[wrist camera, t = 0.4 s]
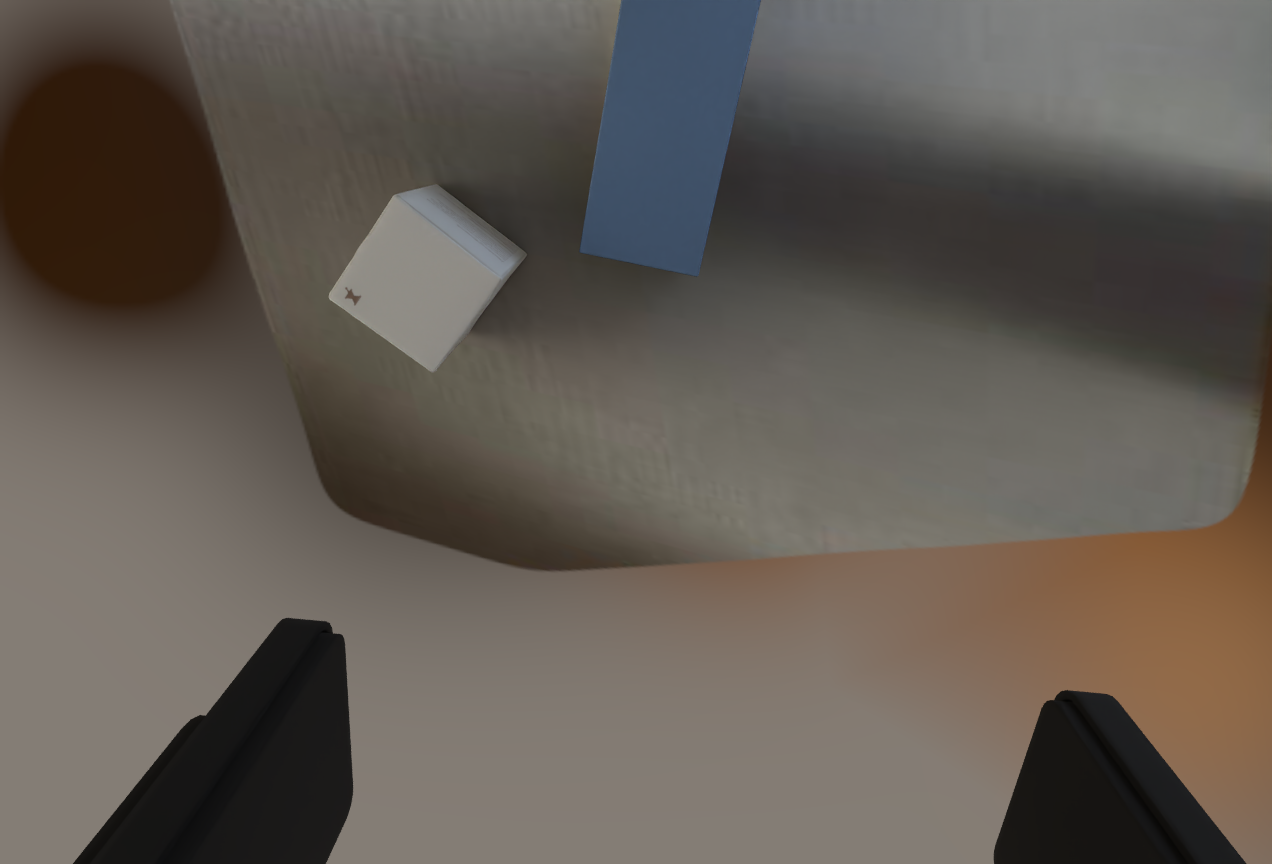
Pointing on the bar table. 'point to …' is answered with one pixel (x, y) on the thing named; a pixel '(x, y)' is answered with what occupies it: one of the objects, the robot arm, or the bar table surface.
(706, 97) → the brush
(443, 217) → the product box
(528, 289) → the bar table surface
